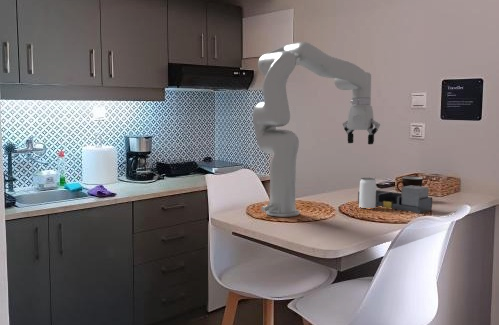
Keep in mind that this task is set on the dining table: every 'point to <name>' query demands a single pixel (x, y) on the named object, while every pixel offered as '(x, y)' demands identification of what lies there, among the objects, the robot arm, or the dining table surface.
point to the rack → (405, 199)
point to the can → (367, 193)
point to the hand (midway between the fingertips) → (360, 143)
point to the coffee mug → (410, 182)
